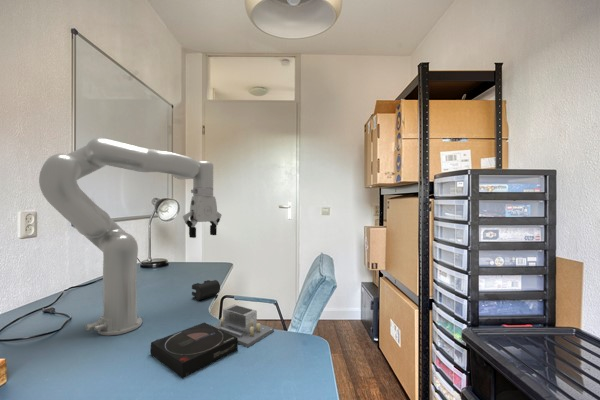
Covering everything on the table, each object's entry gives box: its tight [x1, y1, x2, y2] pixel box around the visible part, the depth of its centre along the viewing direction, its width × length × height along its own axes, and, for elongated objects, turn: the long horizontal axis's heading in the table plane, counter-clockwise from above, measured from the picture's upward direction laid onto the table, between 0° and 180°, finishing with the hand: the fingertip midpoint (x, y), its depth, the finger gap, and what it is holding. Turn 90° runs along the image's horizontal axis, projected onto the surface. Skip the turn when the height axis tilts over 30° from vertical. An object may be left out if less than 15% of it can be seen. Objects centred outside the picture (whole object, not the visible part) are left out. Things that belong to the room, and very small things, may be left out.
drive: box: [222, 304, 258, 336], centre depth 93 cm, size 5×10×6 cm, turn 57°
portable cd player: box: [149, 322, 239, 379], centre depth 81 cm, size 16×17×4 cm
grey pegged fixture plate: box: [212, 316, 275, 348], centre depth 93 cm, size 12×18×4 cm, turn 57°
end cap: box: [191, 279, 221, 302], centre depth 126 cm, size 10×7×7 cm
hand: (203, 236), depth 114 cm, fingers open, 9 cm apart
